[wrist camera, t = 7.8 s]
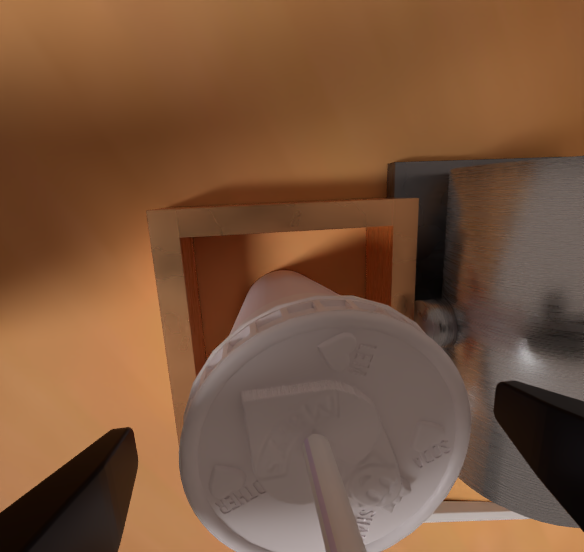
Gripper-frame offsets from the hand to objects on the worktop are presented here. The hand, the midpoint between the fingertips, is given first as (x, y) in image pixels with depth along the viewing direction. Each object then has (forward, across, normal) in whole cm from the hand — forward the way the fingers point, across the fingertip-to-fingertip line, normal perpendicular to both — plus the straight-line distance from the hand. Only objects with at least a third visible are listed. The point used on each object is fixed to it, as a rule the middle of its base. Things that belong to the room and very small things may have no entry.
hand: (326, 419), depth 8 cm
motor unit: (+8, -4, 0) cm, 10 cm away
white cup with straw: (+9, 0, 0) cm, 9 cm away
